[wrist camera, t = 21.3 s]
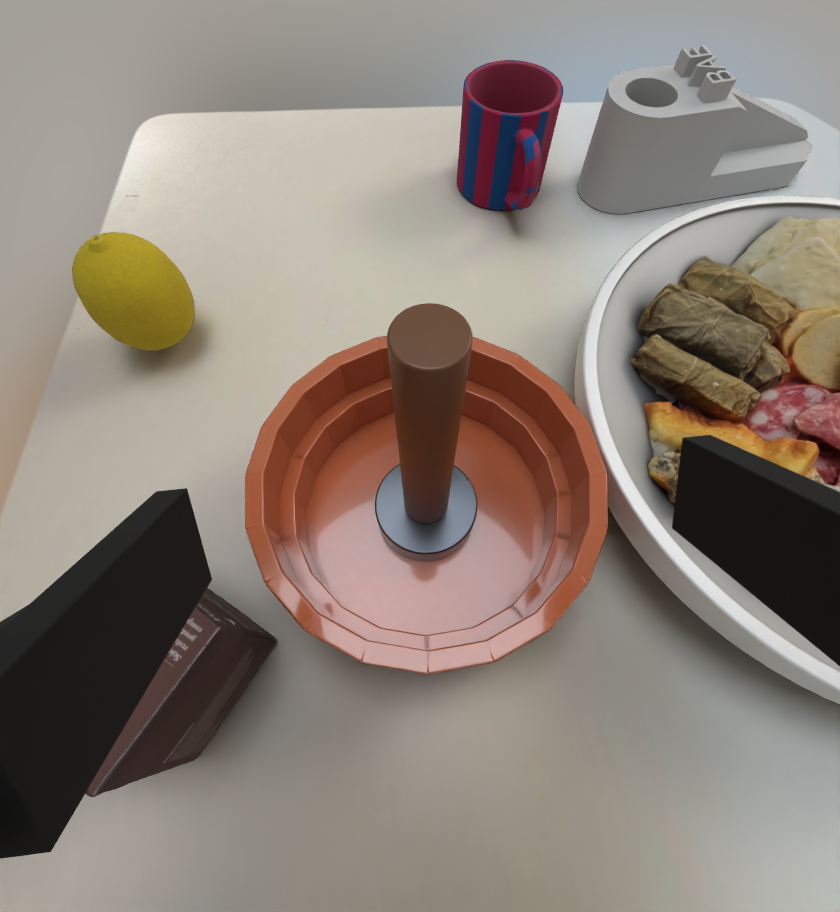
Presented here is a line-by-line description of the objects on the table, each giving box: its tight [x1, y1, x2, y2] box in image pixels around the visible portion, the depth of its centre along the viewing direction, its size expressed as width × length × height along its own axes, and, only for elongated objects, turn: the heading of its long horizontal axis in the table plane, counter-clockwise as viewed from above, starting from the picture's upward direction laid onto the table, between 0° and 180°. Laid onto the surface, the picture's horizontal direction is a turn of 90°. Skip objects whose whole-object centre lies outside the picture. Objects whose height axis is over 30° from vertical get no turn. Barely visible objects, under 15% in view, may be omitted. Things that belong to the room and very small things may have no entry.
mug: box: [457, 60, 563, 210], centre depth 34 cm, size 7×10×7 cm
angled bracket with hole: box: [577, 45, 813, 214], centre depth 34 cm, size 6×18×8 cm, turn 103°
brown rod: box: [375, 304, 477, 561], centre depth 18 cm, size 5×5×14 cm
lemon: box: [72, 232, 195, 350], centre depth 27 cm, size 6×6×8 cm
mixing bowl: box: [245, 336, 608, 674], centre depth 23 cm, size 16×16×6 cm
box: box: [85, 588, 277, 797], centre depth 19 cm, size 6×6×7 cm
